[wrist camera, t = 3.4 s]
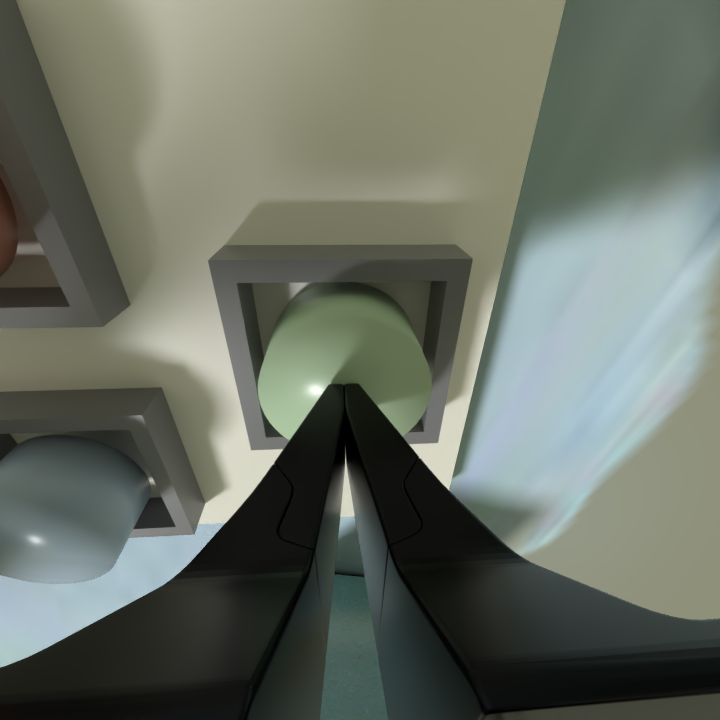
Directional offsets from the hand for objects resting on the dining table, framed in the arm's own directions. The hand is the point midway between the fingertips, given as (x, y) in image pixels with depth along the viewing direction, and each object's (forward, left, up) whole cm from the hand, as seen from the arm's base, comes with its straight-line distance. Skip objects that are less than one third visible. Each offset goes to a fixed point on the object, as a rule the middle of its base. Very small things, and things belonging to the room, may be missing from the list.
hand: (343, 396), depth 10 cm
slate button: (-10, -5, -2) cm, 11 cm away
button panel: (-5, 0, -4) cm, 7 cm away
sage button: (0, 0, -2) cm, 3 cm away
